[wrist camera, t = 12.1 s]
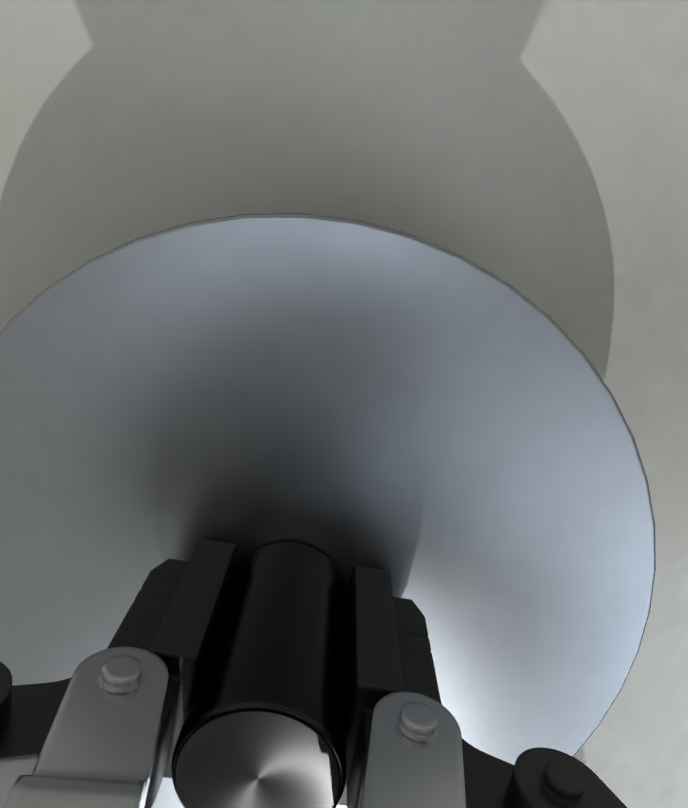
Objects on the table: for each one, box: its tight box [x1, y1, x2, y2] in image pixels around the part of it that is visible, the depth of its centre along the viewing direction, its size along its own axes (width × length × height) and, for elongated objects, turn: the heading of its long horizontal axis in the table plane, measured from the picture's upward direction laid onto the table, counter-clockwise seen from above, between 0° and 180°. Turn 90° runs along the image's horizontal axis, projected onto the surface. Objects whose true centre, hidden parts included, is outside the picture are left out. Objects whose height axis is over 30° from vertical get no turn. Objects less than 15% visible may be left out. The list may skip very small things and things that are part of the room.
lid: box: [0, 214, 656, 808], centre depth 11 cm, size 15×15×6 cm
